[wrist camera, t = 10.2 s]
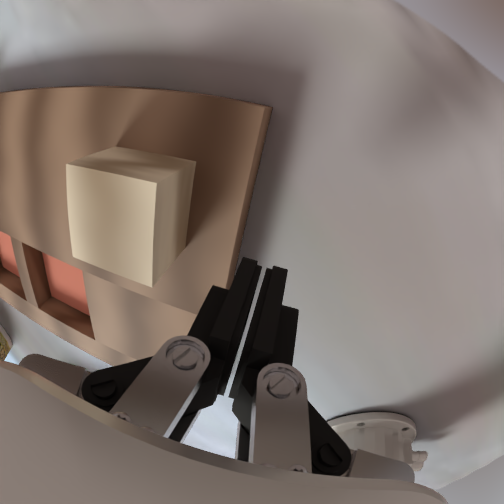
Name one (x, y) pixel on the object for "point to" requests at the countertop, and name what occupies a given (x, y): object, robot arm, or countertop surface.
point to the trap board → (57, 222)
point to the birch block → (129, 211)
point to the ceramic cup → (4, 344)
